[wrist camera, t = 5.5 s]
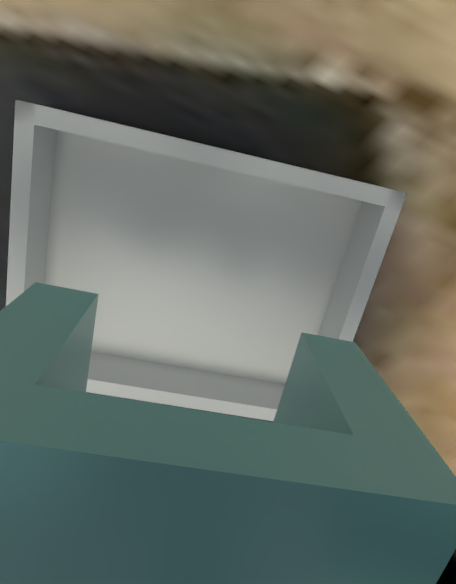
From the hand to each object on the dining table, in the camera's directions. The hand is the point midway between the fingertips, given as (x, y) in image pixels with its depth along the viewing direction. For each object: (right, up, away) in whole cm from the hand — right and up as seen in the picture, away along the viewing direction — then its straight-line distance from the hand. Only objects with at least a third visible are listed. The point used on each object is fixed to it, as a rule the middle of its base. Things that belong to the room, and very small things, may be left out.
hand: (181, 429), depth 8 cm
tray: (0, +4, +10) cm, 10 cm away
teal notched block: (0, 0, +1) cm, 1 cm away
